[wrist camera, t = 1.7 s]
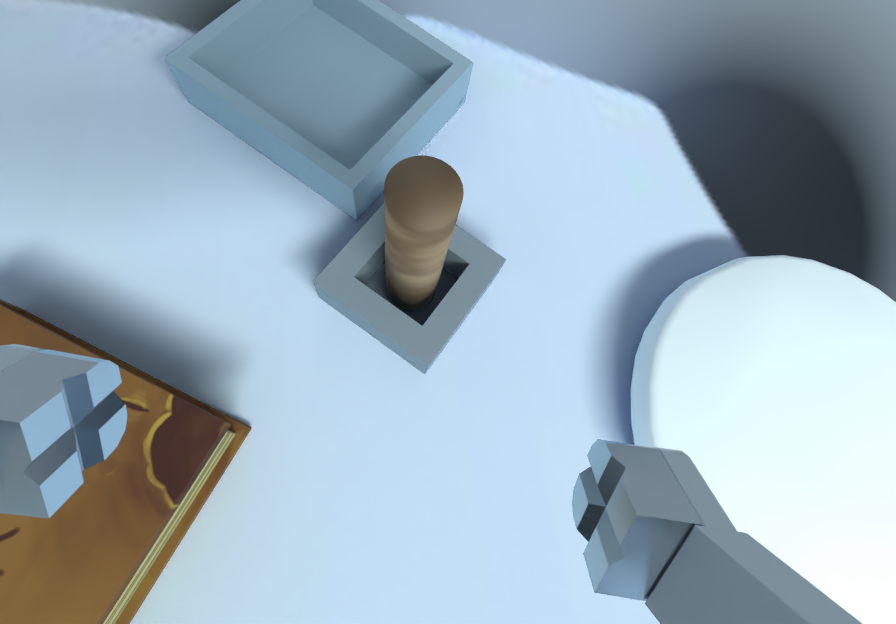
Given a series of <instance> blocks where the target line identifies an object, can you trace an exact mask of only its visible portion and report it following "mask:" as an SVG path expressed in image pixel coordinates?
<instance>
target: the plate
mask: <svg viewBox="0 0 896 624" xmlns="http://www.w3.org/2000/svg"><path fill="white" fill-rule="evenodd" d="M631 424H632V431H633V437H634V444H635V445H639V446H646V447H651V448H653V447H658V448H665V449H672V450H680V451H683V452H684V453H685V454H687V455H688V456H689V457H690V458H691V460H692V462H693V463H694V465H695V466H696V468H697V469H698V471H699V472H700V474H701V476H702V477H703V479H704V480H705V482H706V483H707V485H708V486H709V488H710V490H711V491H712V493H713V494H714V496H715V497H716V499H717V500H718V502H719V504H720V505H721V507H722V508H723V510H724V511H725V513H726V515H727V516H728V518H729V519H730V521H731V522H732V524H733V525H734V527H735V529H736V530H737V531H738V532H744V533H747V534H749V535H750V536H751V537H753V538H754V539H755V540H756V541H758V542H759V543H760V544H762V545H763V546H764V547H765V548H767V549H768V550H769V551H770V552H772V553H773V554H774V555H776V556H777V557H778V558H779V559H781V560H782V561H783V562H784V563H786V564H787V565H788V566H790V567H791V568H792V569H793V570H795V571H796V572H797V573H799V574H800V575H801V576H802V577H804V578H805V579H806V580H807V581H809V582H810V583H811V584H813V585H814V586H815V587H816V588H818V589H819V590H820V591H822V592H823V593H824V594H825V595H827V596H828V597H829V598H830V599H832V600H833V601H834V602H836V603H837V604H838V605H839V606H841V607H842V608H843V609H844V610H846V611H847V612H848V613H850V614H851V615H852V616H853V617H855V618H856V619H857V620H859V621H860V622H861V623H862V624H896V302H894V301H893V300H892V299H890V298H889V297H888V296H887V295H885V294H884V293H883V292H881V291H880V290H879V289H877V288H875V287H874V286H872V285H870V284H868V283H866V282H865V281H863V280H861V279H859V278H858V277H856V276H854V275H852V274H850V273H848V272H845V271H842V270H839V269H836V268H834V267H831V266H828V265H826V264H822V263H820V262H817V261H814V260H810V259H804V258H798V257H791V256H785V255H779V256H754V257H742V258H737V259H733V260H731V261H729V262H727V263H724V264H722V265H720V266H718V267H715V268H713V269H711V270H709V271H707V272H704V273H702V274H700V275H698V276H696V277H693V278H691V279H689V280H687V281H685V282H684V283H683V284H682V285H680V286H679V287H678V288H677V289H676V290H675V291H673V292H672V293H671V294H670V295H669V296H668V297H667V298H666V299H665V300H664V301H663V302H662V304H661V305H660V307H659V308H658V310H657V312H656V313H655V315H654V316H653V318H652V319H651V321H650V323H649V324H648V326H647V327H646V329H645V330H644V333H643V336H642V339H641V342H640V344H639V347H638V350H637V353H636V356H635V361H634V368H633V376H632V383H631Z"/></svg>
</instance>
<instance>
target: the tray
mask: <svg viewBox="0 0 896 624" xmlns="http://www.w3.org/2000/svg"><path fill="white" fill-rule="evenodd" d="M164 59H165V61H166V63H167V64H168V66H169V68H170V70H171V72H172V73H173V75H174V77H175V79H176V80H177V82H178V84H179V86H180V87H181V89H182V91H183V93H184V94H185V96H186V98H187V100H188V102H189V103H191V104H192V105H194V106H195V107H196V108H198V109H199V110H201V111H202V112H204V113H205V114H206V115H208V116H209V117H211V118H212V119H214V120H215V121H216V122H218V123H219V124H221V125H222V126H223V127H225V128H226V129H228V130H229V131H231V132H232V133H233V134H235V135H236V136H238V137H239V138H240V139H242V140H243V141H245V142H246V143H248V144H249V145H250V146H252V147H253V148H255V149H256V150H257V151H259V152H260V153H262V154H263V155H265V156H266V157H267V158H269V159H270V160H272V161H273V162H274V163H276V164H277V165H279V166H280V167H282V168H283V169H284V170H286V171H287V172H289V173H290V174H292V175H293V176H294V177H296V178H297V179H299V180H300V181H301V182H303V183H304V184H306V185H307V186H309V187H310V188H311V189H313V190H314V191H316V192H317V193H318V194H320V195H321V196H323V197H324V198H326V199H327V200H328V201H330V202H331V203H333V204H334V205H335V206H337V207H338V208H340V209H341V210H343V211H344V212H345V213H347V214H348V215H350V216H351V217H352V218H354V219H355V220H358V219H359V218H360V216H361V215H362V214H363V213H364V212H365V211H366V210H367V209H368V208H369V207H370V205H371V204H372V203H373V202H374V201H375V200H376V199H377V198H378V197H379V196H380V195H381V193H382V192H383V191H384V183H385V179H386V176H387V174H388V172H389V171H390V170H391V168H392V167H393V166H394V165H395V164H397V163H398V162H399V161H401V160H403V159H406V158H408V157H412V156H416V155H417V154H418V153H419V152H420V151H421V150H422V148H423V147H424V146H425V145H426V144H427V143H428V142H429V141H430V140H431V139H432V137H433V136H434V135H435V134H436V133H437V132H438V131H439V130H440V129H441V128H442V127H443V125H444V124H445V123H446V122H447V121H448V120H449V119H450V118H451V117H452V116H453V114H454V113H455V112H456V111H457V110H458V109H459V108H460V107H461V106H462V105H463V103H464V102H465V98H466V94H467V89H468V85H469V80H470V76H471V71H472V66H473V62H472V61H470V60H469V59H467V58H466V57H464V56H463V55H461V54H460V53H458V52H457V51H455V50H453V49H452V48H450V47H449V46H447V45H446V44H444V43H443V42H441V41H440V40H438V39H437V38H435V37H434V36H432V35H431V34H429V33H428V32H426V31H425V30H423V29H421V28H420V27H418V26H417V25H415V24H414V23H412V22H411V21H409V20H408V19H406V18H405V17H403V16H402V15H400V14H399V13H397V12H396V11H394V10H393V9H391V8H390V7H388V6H386V5H385V4H383V3H382V2H380V1H379V0H240V1H239V2H238V3H237V4H235V5H234V6H232V7H231V8H230V9H228V10H227V11H226V12H224V13H223V14H222V15H221V16H219V17H218V18H216V19H215V20H214V21H212V22H211V23H210V24H208V25H207V26H206V27H204V28H203V29H202V30H200V31H199V32H198V33H196V34H195V35H194V36H192V37H191V38H190V39H188V40H187V41H186V42H185V43H183V44H182V45H181V46H179V47H178V48H177V49H175V50H174V51H173V52H171V53H170V54H169V55H167V56H166V57H165V58H164Z"/></svg>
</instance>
